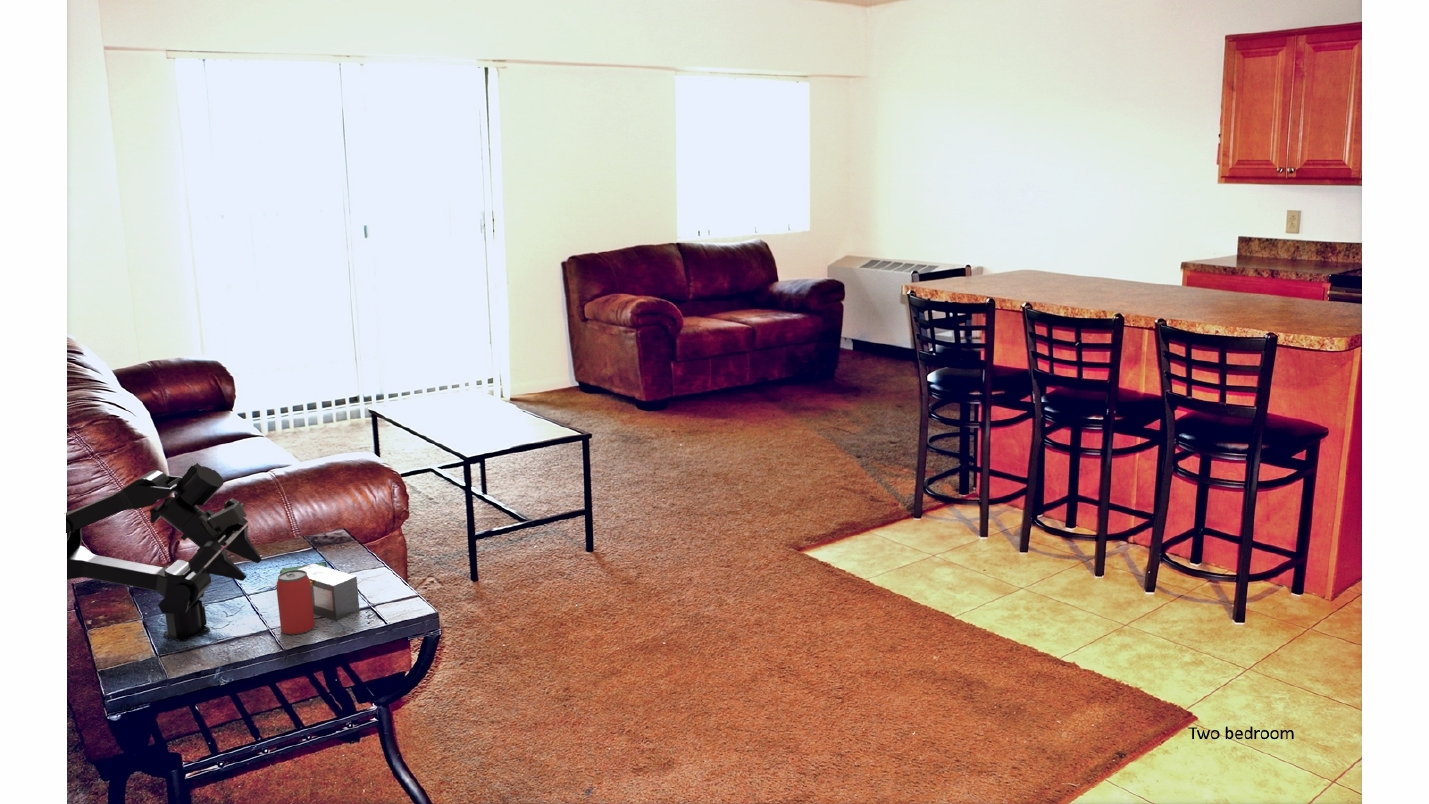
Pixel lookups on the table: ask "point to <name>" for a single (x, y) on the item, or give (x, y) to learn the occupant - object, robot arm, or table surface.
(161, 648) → the table surface
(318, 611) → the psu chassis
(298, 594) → the beer can
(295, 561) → the table surface
